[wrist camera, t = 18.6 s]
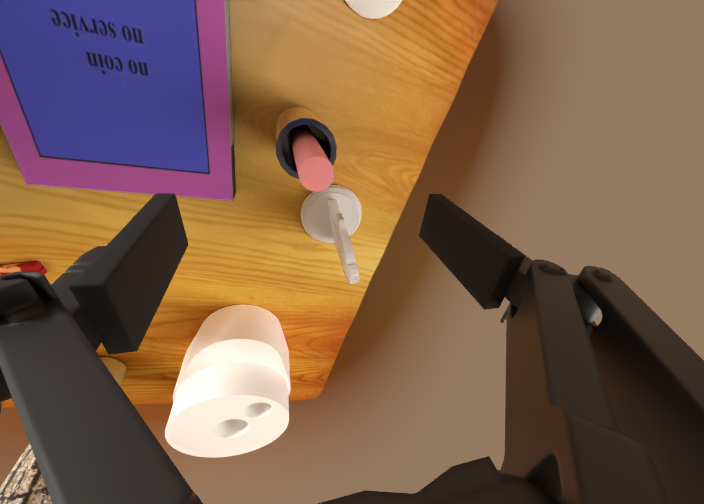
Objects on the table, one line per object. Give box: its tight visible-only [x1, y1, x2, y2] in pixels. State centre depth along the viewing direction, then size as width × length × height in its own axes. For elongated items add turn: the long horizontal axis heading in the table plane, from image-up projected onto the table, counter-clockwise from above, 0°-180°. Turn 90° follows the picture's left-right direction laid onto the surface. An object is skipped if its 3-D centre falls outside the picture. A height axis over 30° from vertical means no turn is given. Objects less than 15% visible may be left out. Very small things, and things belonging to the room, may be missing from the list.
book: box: [0, 0, 236, 201], centre depth 27 cm, size 21×3×30 cm
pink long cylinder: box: [289, 125, 334, 192], centre depth 29 cm, size 3×3×18 cm
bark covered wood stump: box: [0, 357, 127, 504], centre depth 40 cm, size 7×7×25 cm
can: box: [276, 107, 337, 179], centre depth 32 cm, size 6×6×11 cm
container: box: [165, 304, 290, 457], centre depth 50 cm, size 20×25×14 cm
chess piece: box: [300, 185, 362, 284], centre depth 38 cm, size 10×10×15 cm
